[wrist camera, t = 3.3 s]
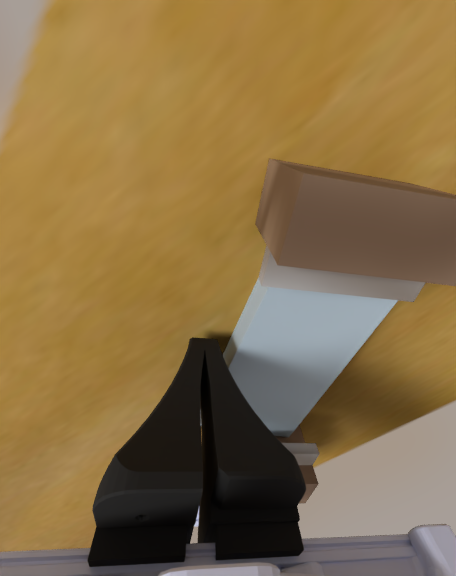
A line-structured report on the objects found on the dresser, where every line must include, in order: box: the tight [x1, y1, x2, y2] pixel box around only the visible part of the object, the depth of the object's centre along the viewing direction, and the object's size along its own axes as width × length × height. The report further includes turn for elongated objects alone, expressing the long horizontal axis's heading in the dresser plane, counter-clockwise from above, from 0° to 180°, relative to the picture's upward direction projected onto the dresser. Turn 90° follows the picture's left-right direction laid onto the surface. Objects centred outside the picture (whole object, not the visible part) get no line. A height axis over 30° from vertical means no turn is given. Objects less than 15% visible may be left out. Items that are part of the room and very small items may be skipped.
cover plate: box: [200, 278, 398, 437], centre depth 14 cm, size 12×6×2 cm, turn 160°
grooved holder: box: [255, 159, 456, 503], centre depth 13 cm, size 18×6×4 cm, turn 171°
